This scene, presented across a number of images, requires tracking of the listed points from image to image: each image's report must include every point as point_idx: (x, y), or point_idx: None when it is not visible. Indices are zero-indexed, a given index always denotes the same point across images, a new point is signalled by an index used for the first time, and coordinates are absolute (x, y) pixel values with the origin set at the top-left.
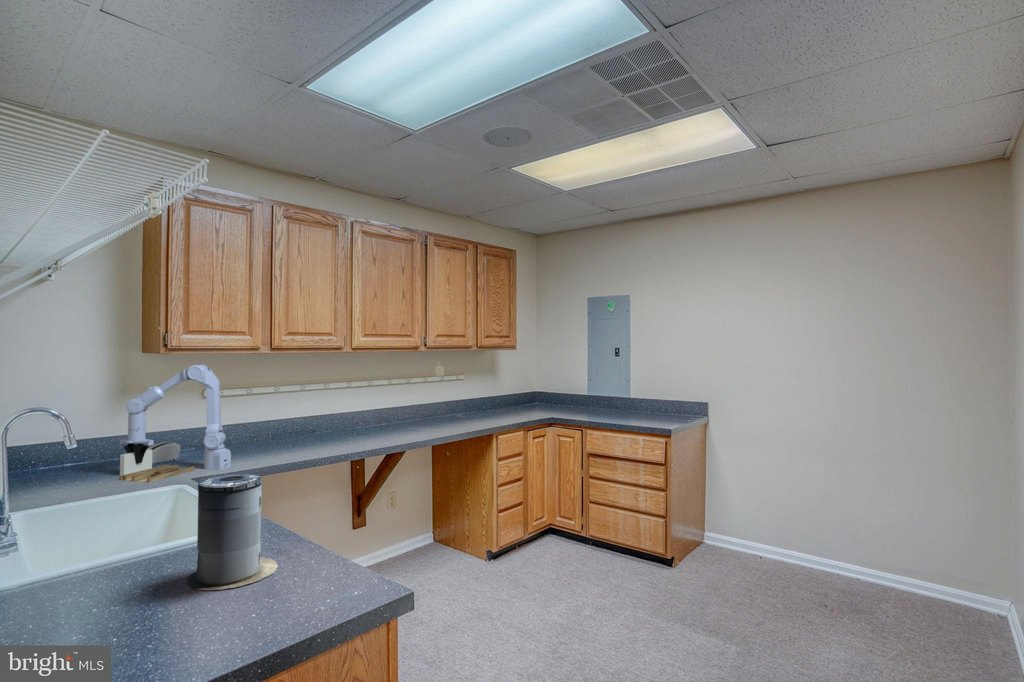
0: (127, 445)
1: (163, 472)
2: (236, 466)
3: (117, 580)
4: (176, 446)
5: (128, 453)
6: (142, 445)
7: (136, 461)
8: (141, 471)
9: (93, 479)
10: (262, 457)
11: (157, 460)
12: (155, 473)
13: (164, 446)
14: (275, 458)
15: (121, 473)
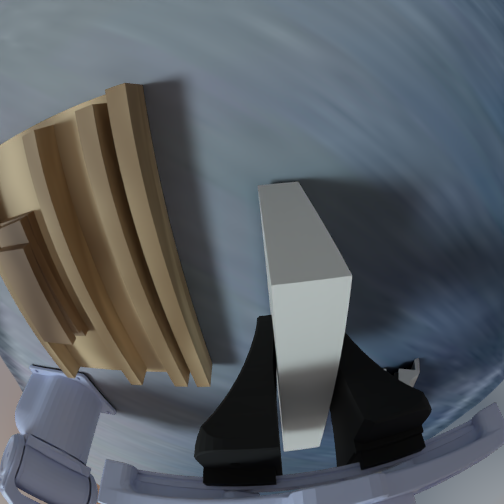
0: (414, 430)
1: (4, 263)
2: None
3: None
4: None
5: (327, 355)
6: (205, 471)
7: (262, 325)
8: (108, 235)
9: (407, 89)
10: (146, 461)
11: None
12: (24, 244)
13: None
14: (112, 454)
15: (284, 187)
